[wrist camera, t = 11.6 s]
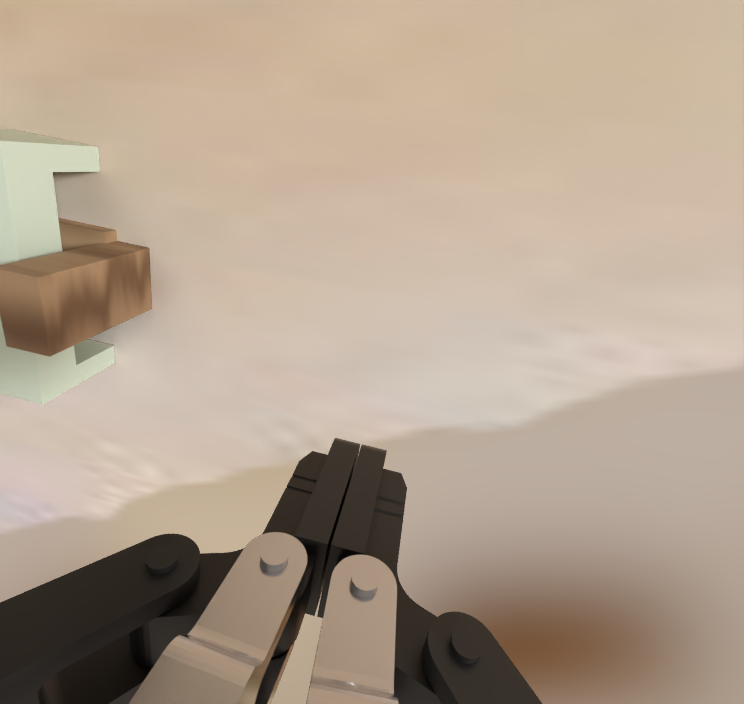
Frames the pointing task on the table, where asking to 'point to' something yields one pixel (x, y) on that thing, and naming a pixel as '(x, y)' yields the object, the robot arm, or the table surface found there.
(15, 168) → the pale green bench
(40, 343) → the brown wooden block
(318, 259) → the table surface
